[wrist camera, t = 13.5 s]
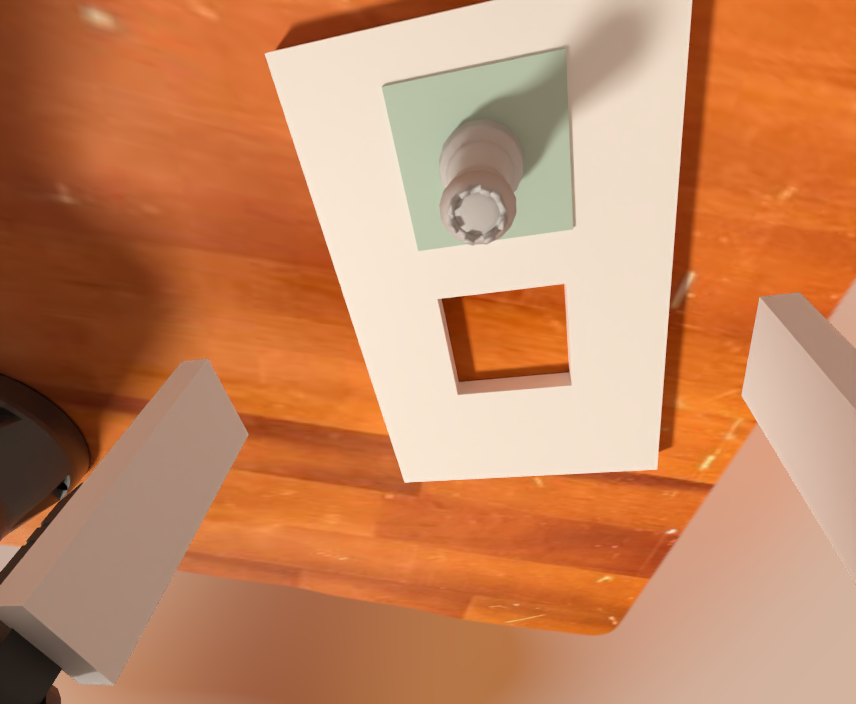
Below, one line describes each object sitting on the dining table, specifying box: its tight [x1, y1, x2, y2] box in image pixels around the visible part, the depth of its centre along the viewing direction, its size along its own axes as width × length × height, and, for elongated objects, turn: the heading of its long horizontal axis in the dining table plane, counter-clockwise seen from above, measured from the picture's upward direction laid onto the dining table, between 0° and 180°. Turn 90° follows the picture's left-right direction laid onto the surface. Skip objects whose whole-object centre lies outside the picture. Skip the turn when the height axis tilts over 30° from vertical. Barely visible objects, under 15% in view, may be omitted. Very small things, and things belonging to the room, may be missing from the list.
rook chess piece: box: [439, 119, 524, 246], centre depth 24 cm, size 4×4×8 cm
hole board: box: [265, 0, 692, 482], centre depth 33 cm, size 20×32×2 cm, turn 11°
